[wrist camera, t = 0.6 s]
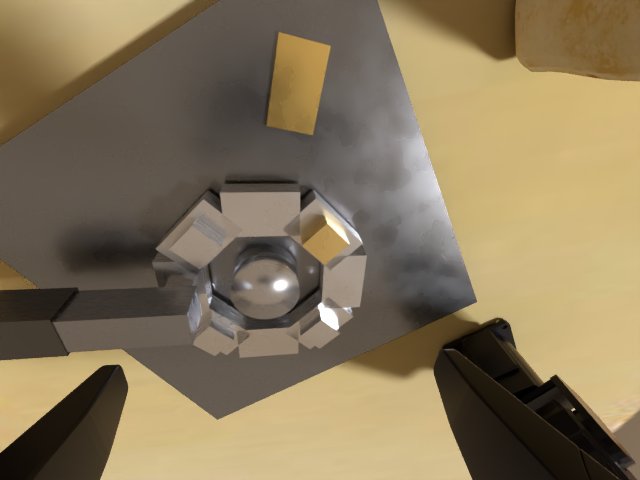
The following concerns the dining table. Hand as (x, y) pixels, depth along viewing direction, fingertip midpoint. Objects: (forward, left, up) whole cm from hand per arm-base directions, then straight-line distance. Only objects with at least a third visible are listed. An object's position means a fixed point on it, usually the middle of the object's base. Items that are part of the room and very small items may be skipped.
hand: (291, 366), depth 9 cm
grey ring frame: (-2, +7, -12) cm, 14 cm away
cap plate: (-3, +4, -13) cm, 14 cm away
